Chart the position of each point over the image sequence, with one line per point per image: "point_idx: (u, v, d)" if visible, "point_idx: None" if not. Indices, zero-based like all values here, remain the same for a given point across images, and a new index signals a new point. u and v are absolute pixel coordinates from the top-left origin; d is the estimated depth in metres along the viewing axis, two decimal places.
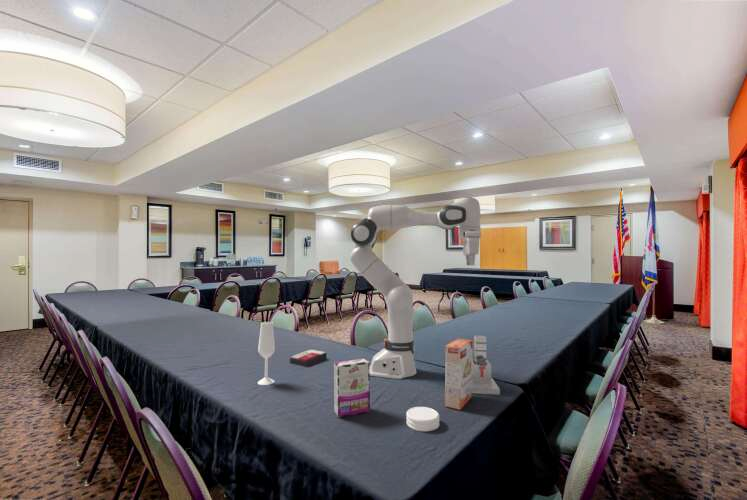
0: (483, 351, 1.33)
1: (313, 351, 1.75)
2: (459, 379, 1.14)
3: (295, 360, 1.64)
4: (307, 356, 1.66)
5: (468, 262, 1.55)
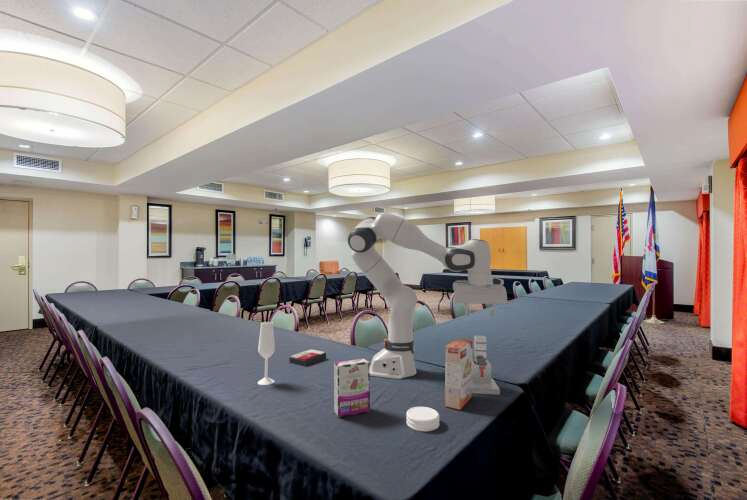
0: (483, 351, 1.33)
1: (313, 351, 1.75)
2: (459, 379, 1.14)
3: (294, 360, 1.65)
4: (306, 356, 1.67)
5: (469, 311, 1.36)
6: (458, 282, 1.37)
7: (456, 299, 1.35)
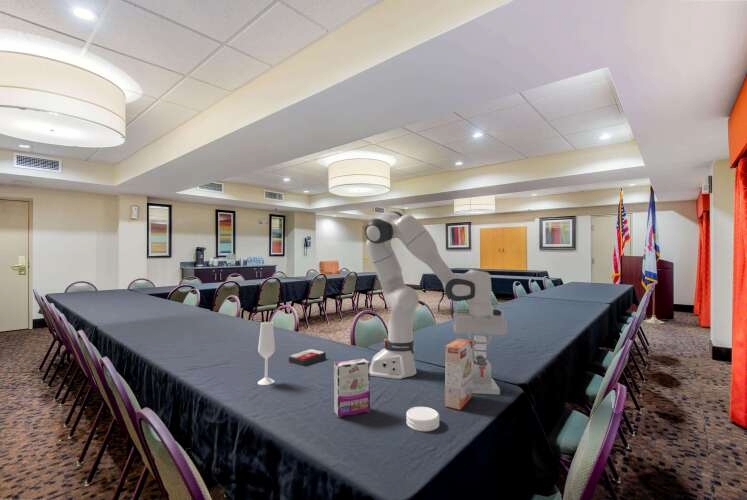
0: (483, 351, 1.33)
1: (313, 351, 1.76)
2: (459, 379, 1.14)
3: (293, 359, 1.66)
4: (305, 355, 1.67)
5: (474, 341, 1.35)
6: (458, 312, 1.36)
7: (456, 329, 1.35)
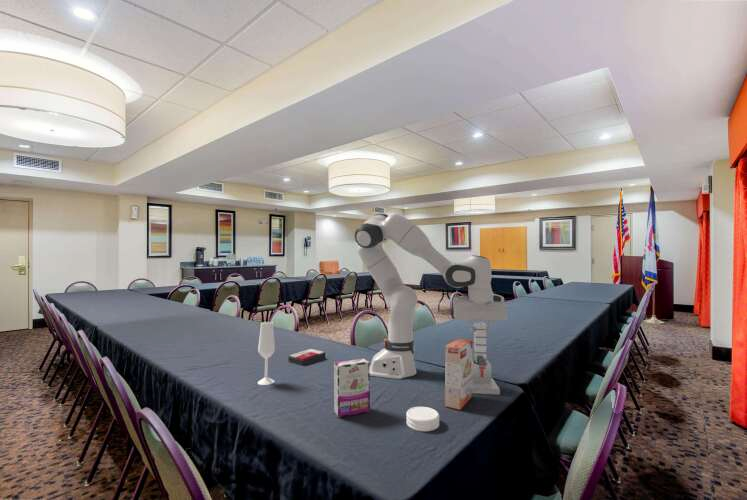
0: (483, 337, 1.33)
1: (312, 350, 1.76)
2: (459, 379, 1.14)
3: (293, 359, 1.66)
4: (305, 355, 1.68)
5: (474, 328, 1.35)
6: (458, 299, 1.36)
7: (456, 315, 1.35)
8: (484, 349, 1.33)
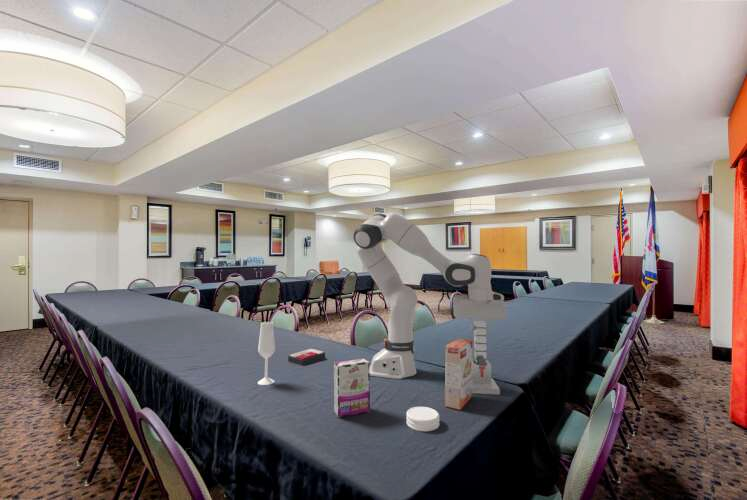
0: (483, 336, 1.33)
1: (312, 350, 1.76)
2: (459, 379, 1.14)
3: (292, 359, 1.67)
4: (304, 355, 1.68)
5: (474, 326, 1.35)
6: (458, 297, 1.36)
7: (456, 314, 1.35)
8: (484, 347, 1.33)
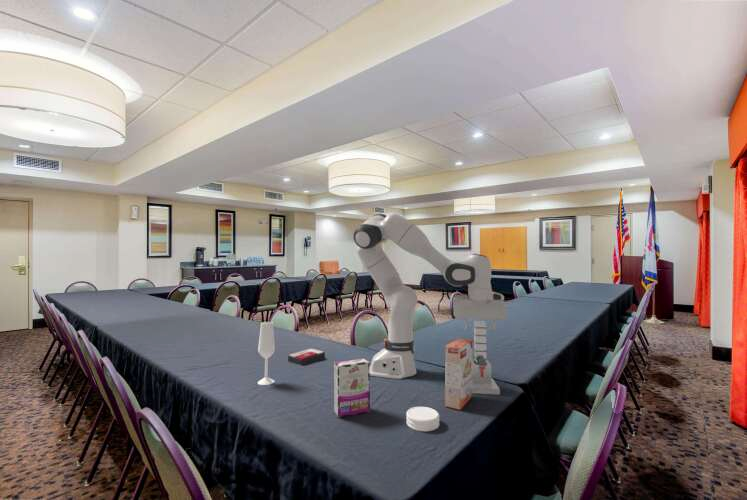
0: (483, 336, 1.33)
1: (312, 350, 1.77)
2: (459, 379, 1.14)
3: (292, 358, 1.67)
4: (304, 355, 1.68)
5: (469, 326, 1.36)
6: (458, 297, 1.36)
7: (456, 314, 1.35)
8: (484, 347, 1.33)
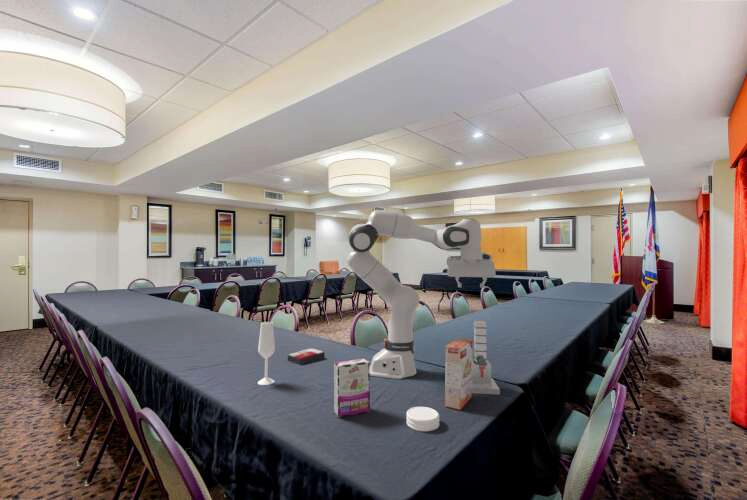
0: (483, 336, 1.33)
1: (312, 350, 1.77)
2: (459, 379, 1.14)
3: (291, 358, 1.68)
4: (303, 354, 1.69)
5: (461, 284, 1.50)
6: (451, 258, 1.51)
7: (449, 273, 1.50)
8: (484, 347, 1.33)
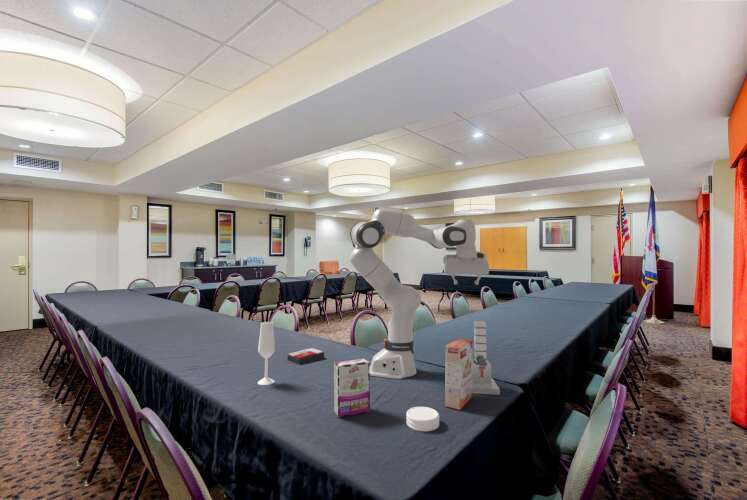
0: (483, 336, 1.33)
1: (312, 350, 1.78)
2: (459, 379, 1.14)
3: (291, 357, 1.69)
4: (303, 354, 1.70)
5: (457, 281, 1.59)
6: (448, 257, 1.60)
7: (446, 270, 1.58)
8: (484, 347, 1.33)
